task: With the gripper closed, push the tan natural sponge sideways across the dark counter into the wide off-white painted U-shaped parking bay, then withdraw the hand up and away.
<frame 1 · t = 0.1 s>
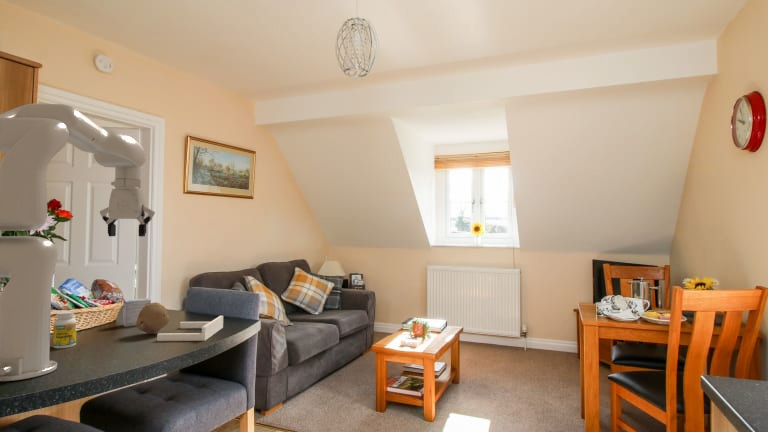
hand: (127, 236, 149), 31 cm above the breakfast bar, tool pointing down, fingers open, 9 cm apart
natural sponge: (153, 334, 142), on the breakfast bar
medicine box: (136, 325, 156), on the breakfast bar
parking bay: (190, 333, 143), on the breakfast bar
supplement bottle: (64, 347, 127), on the breakfast bar
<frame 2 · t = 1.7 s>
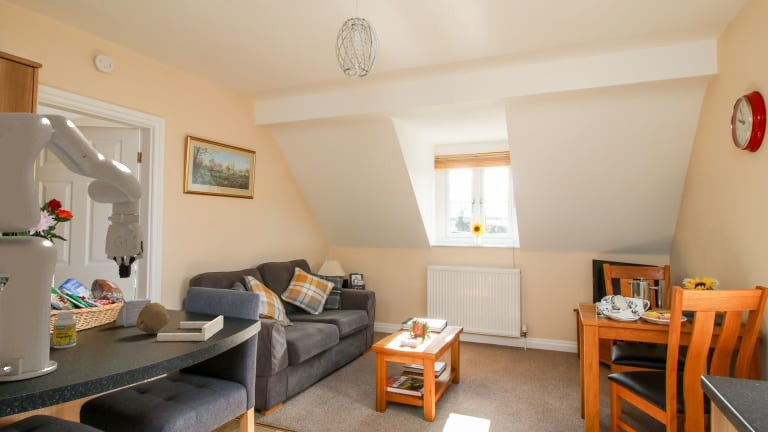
hand: (124, 277, 142), 18 cm above the breakfast bar, tool pointing down, fingers closed
nothing on the breakfast bar moved.
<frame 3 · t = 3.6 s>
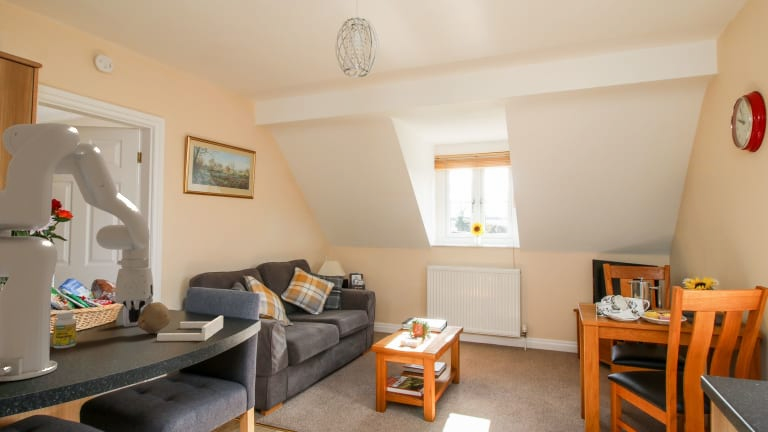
hand: (134, 321, 142), 4 cm above the breakfast bar, tool pointing down, fingers closed
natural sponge: (153, 334, 142), on the breakfast bar, touching gripper
everything else where it was.
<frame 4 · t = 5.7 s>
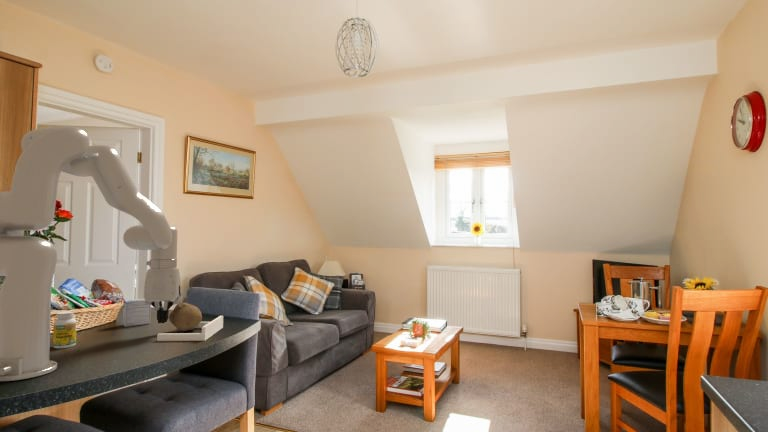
hand: (162, 322, 142), 4 cm above the breakfast bar, tool pointing down, fingers closed
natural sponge: (168, 318, 145), point 4 cm above the breakfast bar, touching gripper, parking bay
everything else where it was.
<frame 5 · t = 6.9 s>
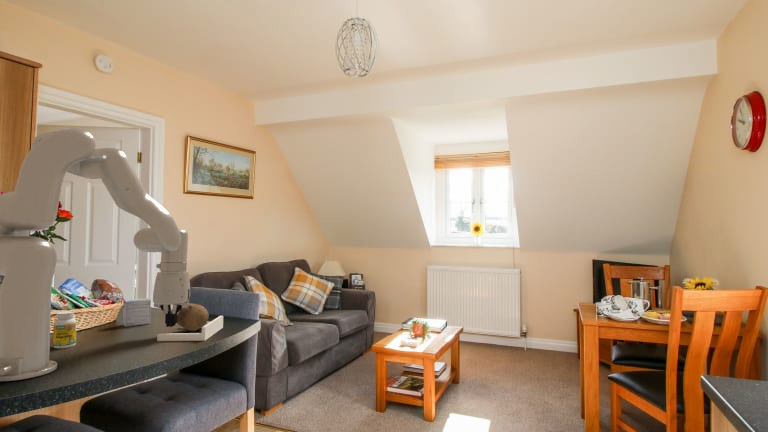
hand: (170, 325, 141), 3 cm above the breakfast bar, tool pointing down, fingers closed
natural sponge: (175, 321, 144), point 4 cm above the breakfast bar, touching gripper, parking bay
everything else where it was.
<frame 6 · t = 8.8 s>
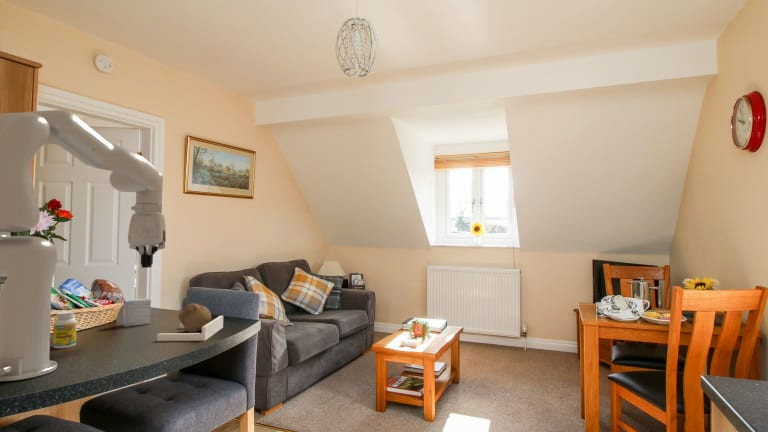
hand: (146, 267, 142), 21 cm above the breakfast bar, tool pointing down, fingers closed
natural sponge: (177, 317, 144), point 5 cm above the breakfast bar
everything else where it was.
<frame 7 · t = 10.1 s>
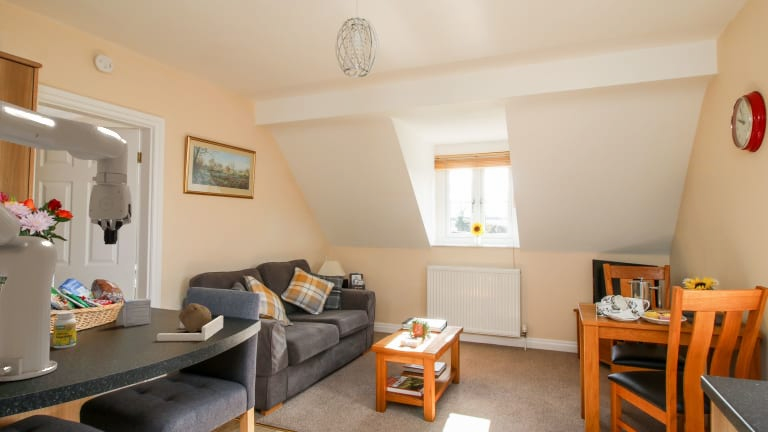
hand: (110, 244, 128), 29 cm above the breakfast bar, tool pointing down, fingers closed
nothing on the breakfast bar moved.
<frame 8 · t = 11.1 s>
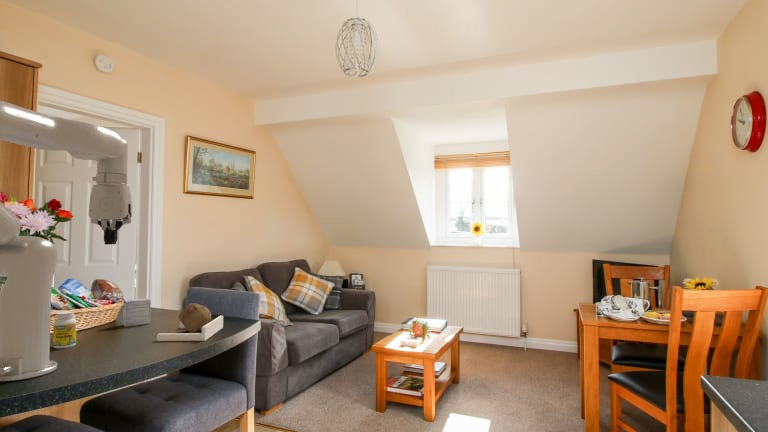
hand: (110, 244, 128), 29 cm above the breakfast bar, tool pointing down, fingers closed
nothing on the breakfast bar moved.
at the end: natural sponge inside the target area (5.5 cm from its centre), point 4.9 cm above the breakfast bar; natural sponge moved 8.6 cm from its start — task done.
